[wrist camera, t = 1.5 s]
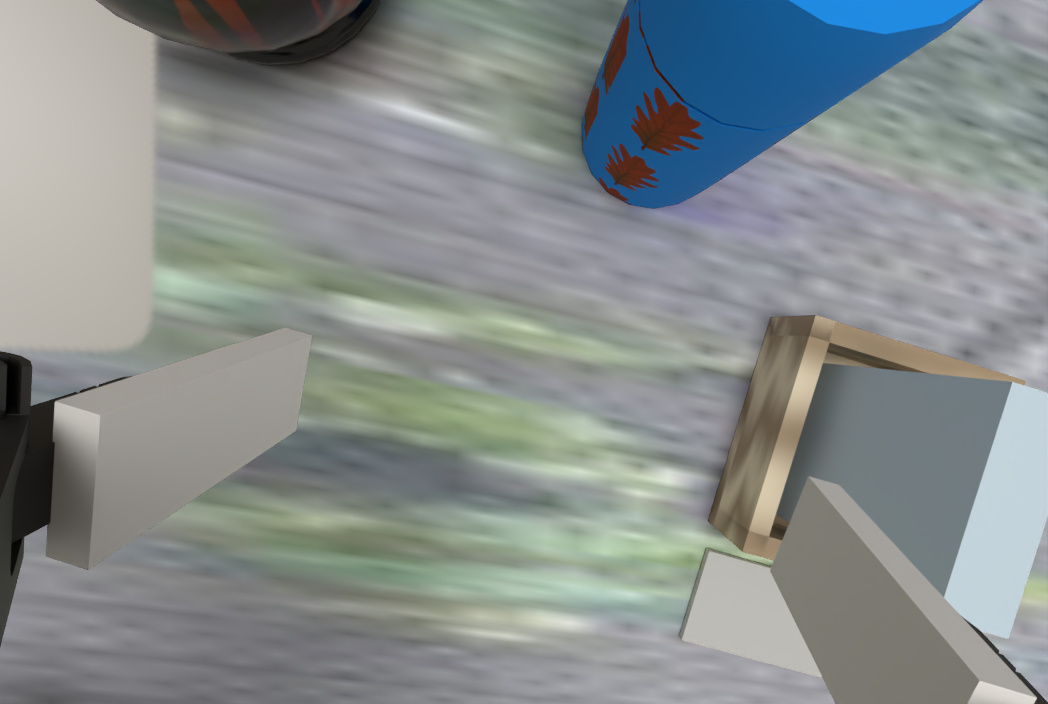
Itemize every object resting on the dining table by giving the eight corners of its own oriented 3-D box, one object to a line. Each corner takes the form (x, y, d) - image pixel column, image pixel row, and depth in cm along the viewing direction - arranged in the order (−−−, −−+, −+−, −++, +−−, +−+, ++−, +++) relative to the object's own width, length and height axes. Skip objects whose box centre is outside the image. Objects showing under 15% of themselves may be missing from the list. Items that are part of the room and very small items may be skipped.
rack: (890, 573, 44) (952, 610, 38) (707, 521, 43) (742, 551, 37) (953, 374, 44) (1025, 380, 38) (770, 317, 43) (815, 315, 37)
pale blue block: (803, 516, 43) (1008, 639, 26) (759, 503, 43) (937, 619, 26) (847, 374, 43) (1083, 404, 26) (803, 360, 42) (1012, 381, 25)
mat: (849, 681, 45) (854, 686, 44) (679, 635, 44) (681, 640, 43) (876, 595, 44) (881, 599, 44) (706, 548, 43) (709, 551, 43)
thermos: (662, 241, 42) (905, 114, 17) (548, 148, 42) (632, -123, 17) (753, 125, 42) (1125, -167, 18) (641, 30, 42) (862, -415, 17)
